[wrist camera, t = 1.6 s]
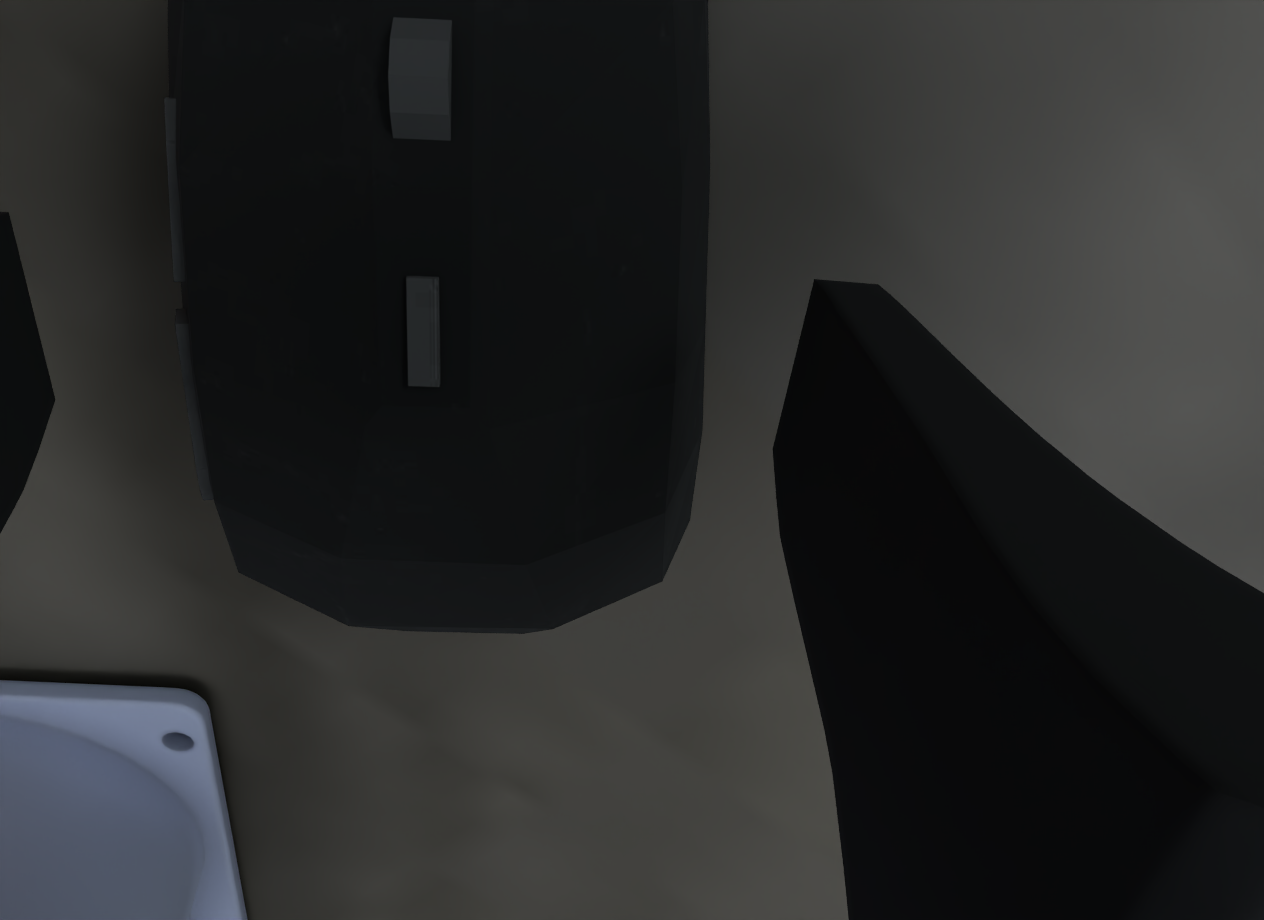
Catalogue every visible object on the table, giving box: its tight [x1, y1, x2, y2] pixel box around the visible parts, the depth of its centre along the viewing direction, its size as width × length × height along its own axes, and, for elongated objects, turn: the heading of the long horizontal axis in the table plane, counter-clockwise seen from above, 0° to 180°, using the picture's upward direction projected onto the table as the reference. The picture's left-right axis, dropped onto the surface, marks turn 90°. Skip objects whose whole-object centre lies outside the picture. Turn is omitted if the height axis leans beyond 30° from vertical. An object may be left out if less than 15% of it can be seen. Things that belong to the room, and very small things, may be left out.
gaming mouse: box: [164, 0, 710, 634], centre depth 13 cm, size 6×15×4 cm, turn 176°
